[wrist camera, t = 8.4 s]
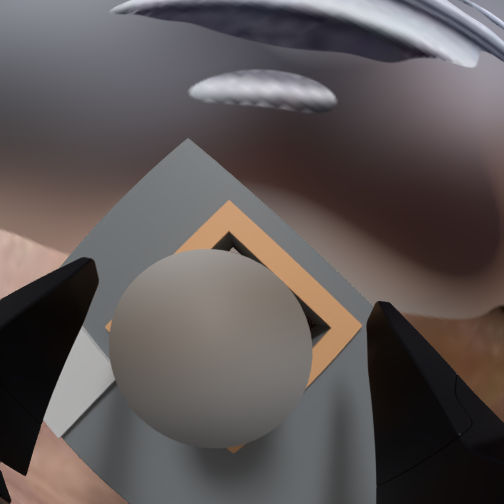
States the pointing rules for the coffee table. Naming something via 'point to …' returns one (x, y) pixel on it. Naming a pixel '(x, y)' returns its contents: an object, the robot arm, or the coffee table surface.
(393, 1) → the coffee table surface
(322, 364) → the gray peg hole board
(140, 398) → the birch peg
